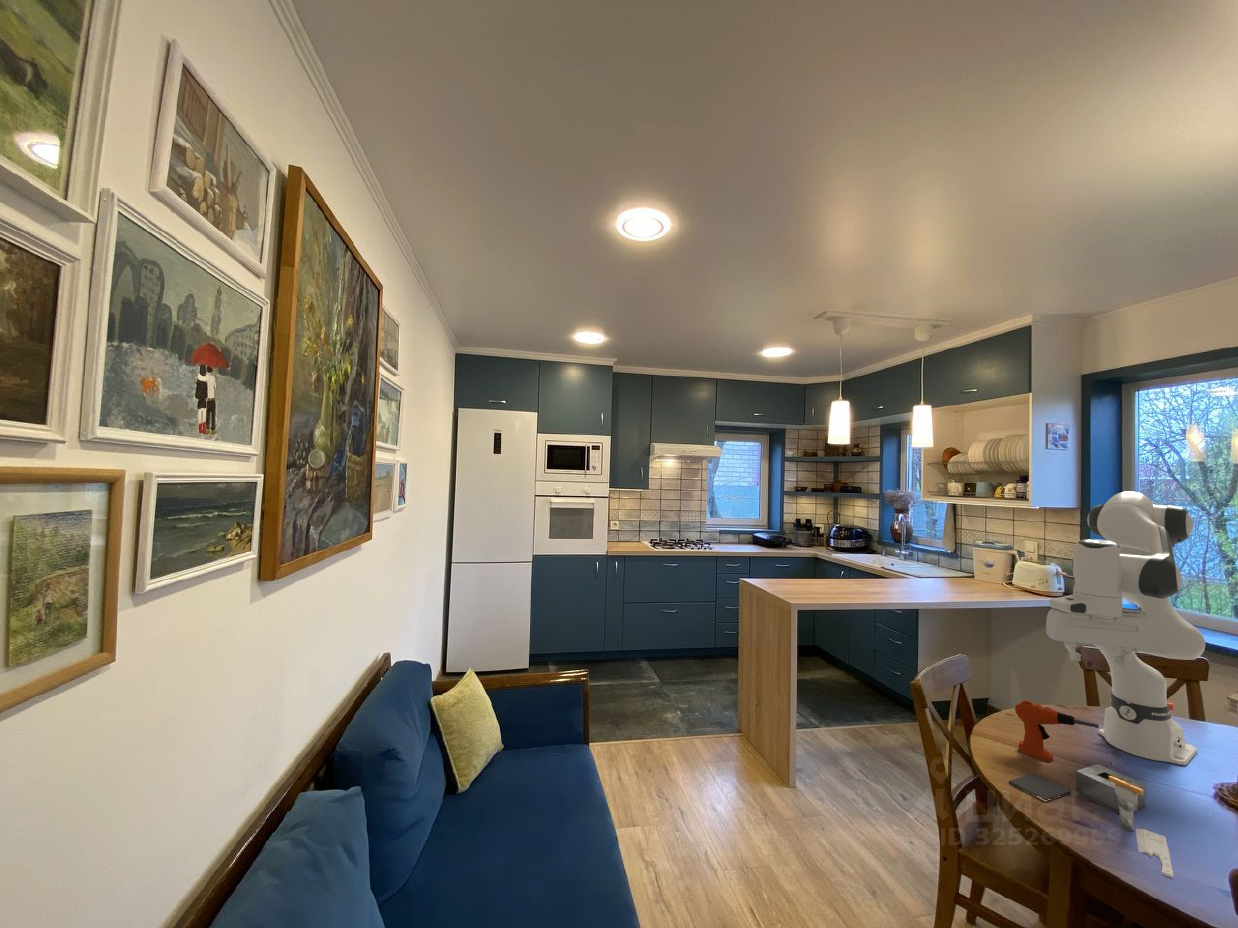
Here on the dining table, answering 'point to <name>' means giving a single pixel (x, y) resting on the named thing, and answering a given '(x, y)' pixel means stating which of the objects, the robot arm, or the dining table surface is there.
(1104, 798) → the block
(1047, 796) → the rubber mat
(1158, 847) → the cream flat piece
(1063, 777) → the dining table surface
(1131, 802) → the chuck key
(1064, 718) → the toy drill
